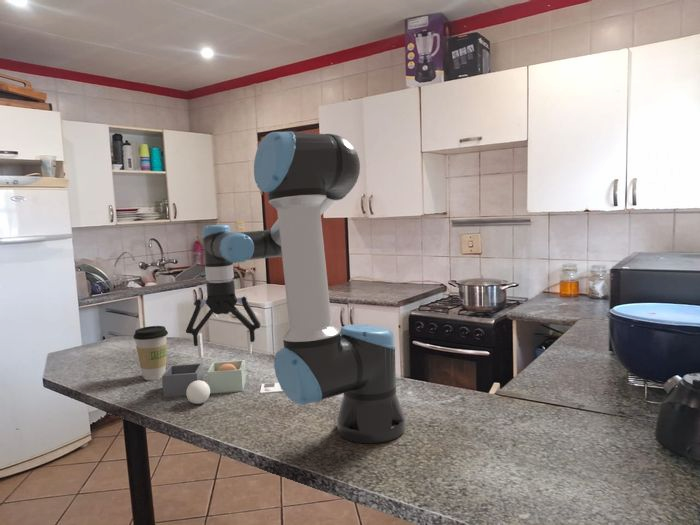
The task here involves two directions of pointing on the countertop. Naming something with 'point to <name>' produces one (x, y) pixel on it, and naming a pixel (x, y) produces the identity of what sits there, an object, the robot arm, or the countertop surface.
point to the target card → (271, 388)
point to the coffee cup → (152, 351)
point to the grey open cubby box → (181, 378)
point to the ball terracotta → (226, 367)
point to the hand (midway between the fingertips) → (225, 355)
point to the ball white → (198, 392)
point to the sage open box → (226, 377)
